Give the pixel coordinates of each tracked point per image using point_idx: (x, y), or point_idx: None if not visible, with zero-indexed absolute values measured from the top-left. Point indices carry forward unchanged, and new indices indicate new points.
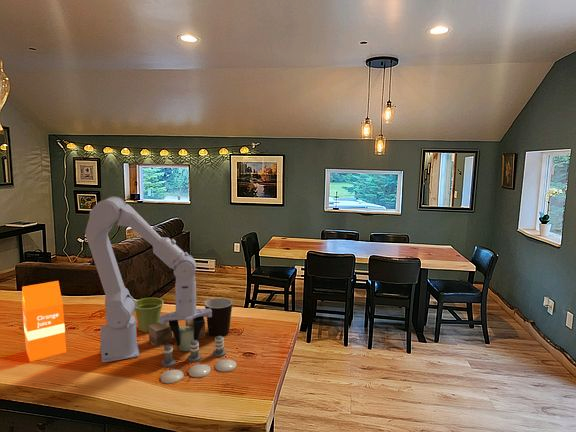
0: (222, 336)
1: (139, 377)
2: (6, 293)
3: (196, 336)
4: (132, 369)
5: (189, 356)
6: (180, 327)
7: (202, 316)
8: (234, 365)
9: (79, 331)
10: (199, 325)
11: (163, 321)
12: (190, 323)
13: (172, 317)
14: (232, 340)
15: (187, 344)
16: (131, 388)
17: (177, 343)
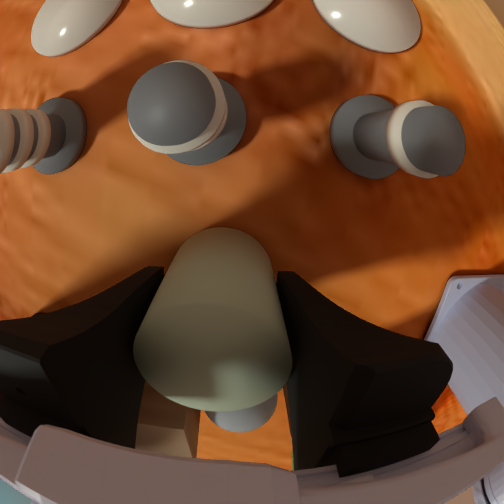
0: (42, 313)
1: (479, 101)
2: None
3: (133, 284)
4: (487, 182)
5: (231, 135)
6: (235, 425)
7: (7, 422)
8: (47, 3)
9: (448, 426)
10: (44, 327)
11: (490, 424)
12: (171, 433)
13: (462, 488)
14: (7, 260)
15: (222, 245)
16: (492, 55)
17: (298, 276)
